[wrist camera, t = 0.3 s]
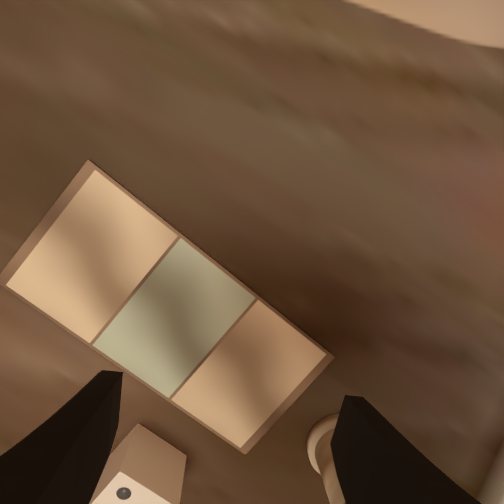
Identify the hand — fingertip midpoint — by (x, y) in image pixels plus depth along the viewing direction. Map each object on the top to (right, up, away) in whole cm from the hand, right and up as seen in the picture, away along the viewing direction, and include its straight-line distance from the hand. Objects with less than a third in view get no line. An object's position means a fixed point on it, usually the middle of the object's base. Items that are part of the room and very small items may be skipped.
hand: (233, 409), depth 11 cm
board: (-4, +1, +10) cm, 11 cm away
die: (-7, -9, +12) cm, 16 cm away
